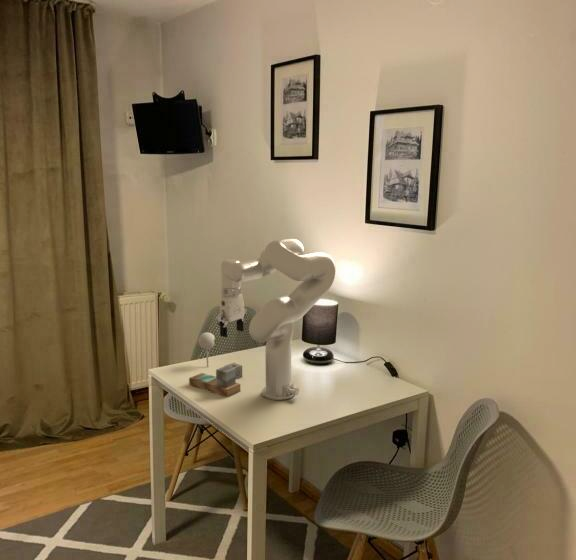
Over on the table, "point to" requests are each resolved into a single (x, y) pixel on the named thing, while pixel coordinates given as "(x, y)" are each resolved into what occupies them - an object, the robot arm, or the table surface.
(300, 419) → the table surface
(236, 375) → the dice cube
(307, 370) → the table surface
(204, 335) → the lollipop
